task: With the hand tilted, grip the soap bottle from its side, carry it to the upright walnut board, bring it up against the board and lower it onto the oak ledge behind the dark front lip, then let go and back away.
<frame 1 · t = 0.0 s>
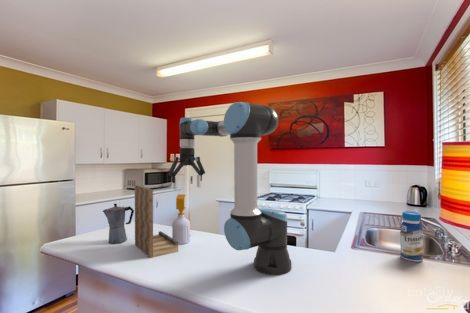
hand: (187, 188, 140), 28 cm above the counter, tool pointing down, fingers open, 13 cm apart
moka pot: (118, 241, 141), on the counter
soap bottle: (181, 242, 140), on the counter
cleat shelf: (155, 247, 130), on the counter
beverage bottle: (411, 258, 116), on the counter
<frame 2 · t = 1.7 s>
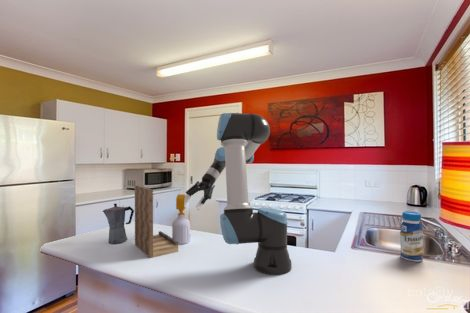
hand: (189, 206, 145), 17 cm above the counter, tool tilted 45°, fingers open, 13 cm apart
nothing on the counter moved.
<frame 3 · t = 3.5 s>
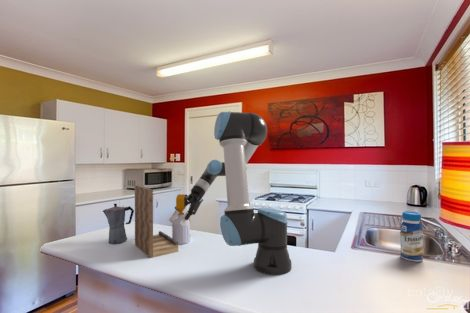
hand: (175, 222, 137), 10 cm above the counter, tool tilted 45°, fingers closed on soap bottle, 8 cm apart
soap bottle: (181, 242, 140), on the counter, touching gripper
everything else where it was.
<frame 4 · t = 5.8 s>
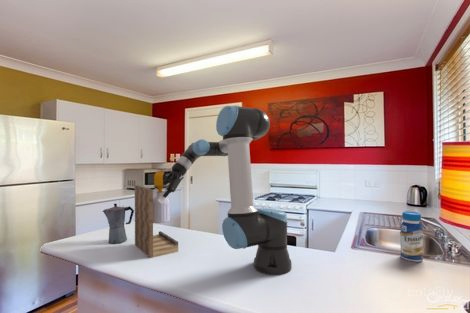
hand: (154, 201, 130), 23 cm above the counter, tool tilted 45°, fingers closed on soap bottle, 8 cm apart
soap bottle: (160, 221, 132), point 12 cm above the counter, touching gripper
everything else where it was.
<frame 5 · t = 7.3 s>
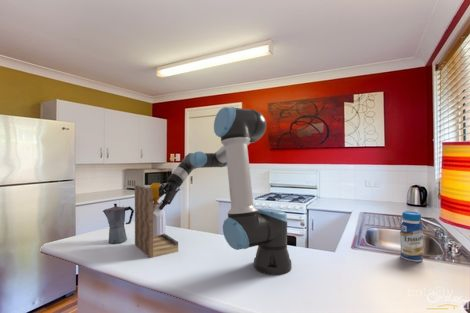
hand: (149, 213, 128), 17 cm above the counter, tool tilted 45°, fingers closed on soap bottle, 8 cm apart
soap bottle: (156, 233, 131), point 7 cm above the counter, touching gripper
everything else where it was.
when the fingers open (15 cm above the counter, at t = 8.2 s): soap bottle drops 1 cm, resting on cleat shelf.
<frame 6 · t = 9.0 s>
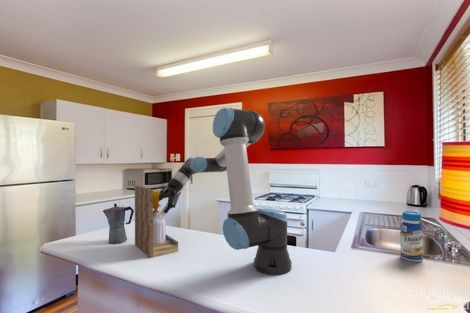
hand: (151, 216, 129), 16 cm above the counter, tool tilted 45°, fingers open, 13 cm apart
soap bottle: (155, 242, 131), point 3 cm above the counter, touching cleat shelf
everything else where it was.
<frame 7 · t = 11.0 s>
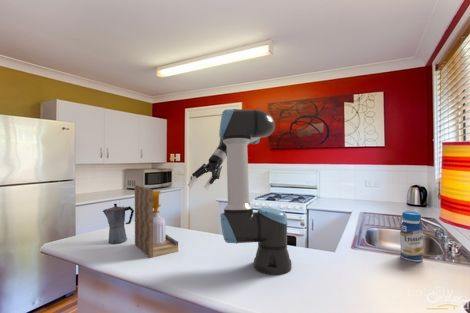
hand: (197, 187, 142), 28 cm above the counter, tool tilted 45°, fingers open, 13 cm apart
nothing on the counter moved.
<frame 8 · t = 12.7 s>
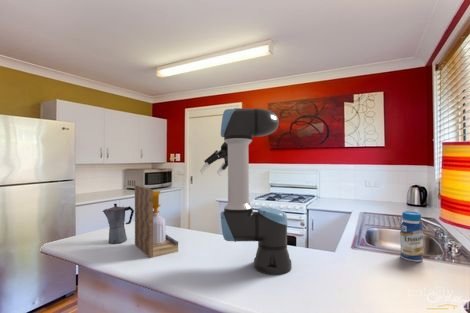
hand: (209, 173, 142), 36 cm above the counter, tool tilted 45°, fingers open, 13 cm apart
nothing on the counter moved.
at the end: soap bottle inside the target area on the cleat shelf (0.2 cm from its centre), point 2.8 cm above the cleat shelf's base; soap bottle tilted 0°; the gripper is holding nothing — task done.
